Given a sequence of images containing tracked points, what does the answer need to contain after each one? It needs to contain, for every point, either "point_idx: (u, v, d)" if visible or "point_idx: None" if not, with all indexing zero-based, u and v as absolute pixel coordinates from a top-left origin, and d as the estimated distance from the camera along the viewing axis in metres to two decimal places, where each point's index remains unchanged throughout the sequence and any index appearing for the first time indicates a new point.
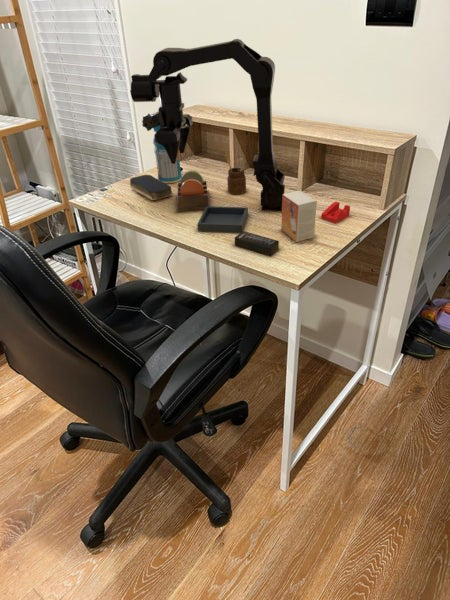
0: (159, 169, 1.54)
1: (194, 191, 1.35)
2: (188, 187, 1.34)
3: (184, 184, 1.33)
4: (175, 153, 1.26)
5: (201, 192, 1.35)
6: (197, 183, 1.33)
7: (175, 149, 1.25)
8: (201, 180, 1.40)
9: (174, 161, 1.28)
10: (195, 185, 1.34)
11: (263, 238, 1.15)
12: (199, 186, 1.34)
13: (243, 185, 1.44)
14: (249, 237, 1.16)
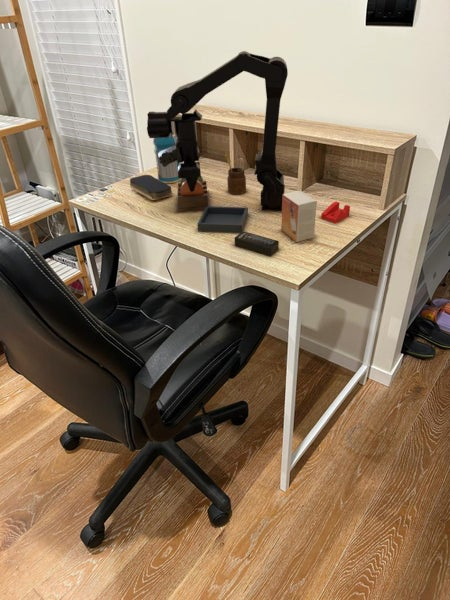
0: (159, 169, 1.54)
1: (194, 191, 1.35)
2: (188, 187, 1.34)
3: (184, 184, 1.33)
4: (195, 181, 1.32)
5: (201, 192, 1.35)
6: (197, 183, 1.33)
7: (195, 178, 1.31)
8: (201, 180, 1.40)
9: (193, 189, 1.34)
10: None
11: (263, 238, 1.15)
12: (199, 186, 1.34)
13: (243, 185, 1.44)
14: (249, 237, 1.16)
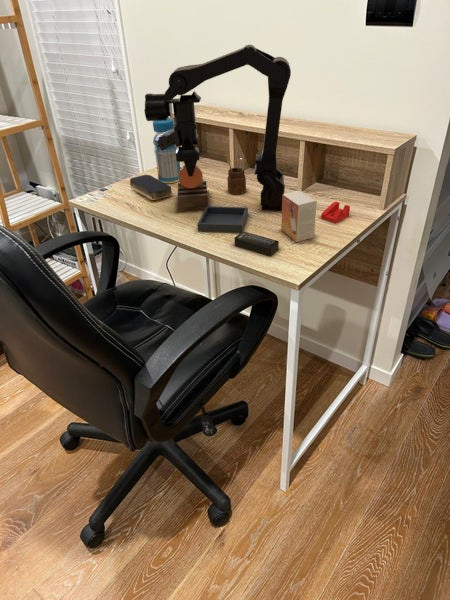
0: (159, 169, 1.54)
1: (193, 176, 1.32)
2: None
3: (182, 169, 1.30)
4: (193, 166, 1.29)
5: (200, 177, 1.32)
6: (196, 168, 1.31)
7: (194, 162, 1.28)
8: None
9: (191, 174, 1.31)
10: None
11: (263, 238, 1.15)
12: (198, 171, 1.31)
13: (243, 185, 1.44)
14: (249, 237, 1.16)
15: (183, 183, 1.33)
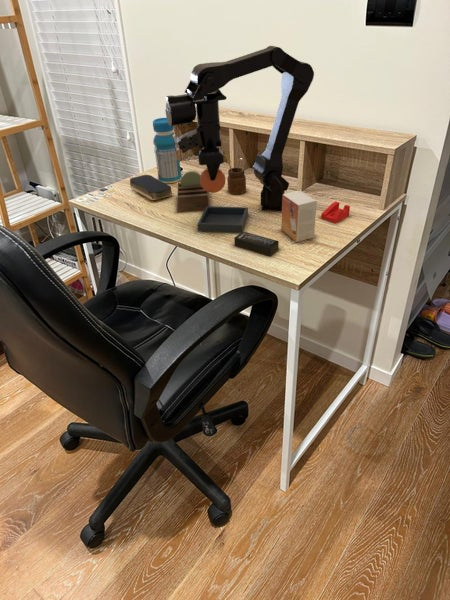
0: (159, 169, 1.54)
1: (215, 180, 1.24)
2: (209, 176, 1.23)
3: (204, 172, 1.23)
4: (216, 169, 1.21)
5: (223, 181, 1.24)
6: (218, 171, 1.23)
7: (217, 165, 1.20)
8: None
9: (214, 177, 1.23)
10: None
11: (263, 238, 1.15)
12: (221, 175, 1.23)
13: (243, 185, 1.44)
14: (249, 237, 1.16)
15: (205, 187, 1.25)
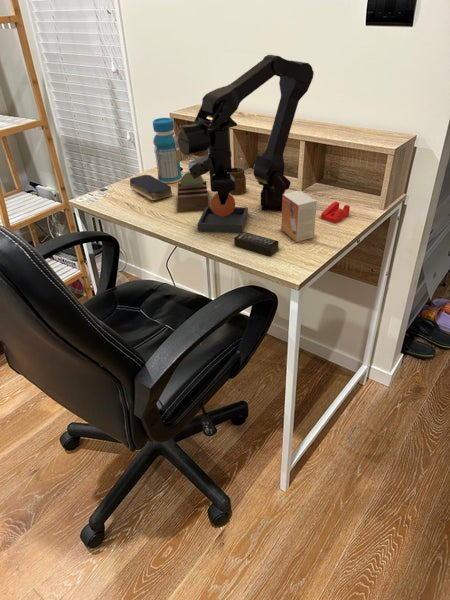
0: (159, 169, 1.54)
1: (225, 204, 1.25)
2: (219, 200, 1.24)
3: (215, 197, 1.23)
4: (227, 194, 1.22)
5: (232, 205, 1.25)
6: (229, 196, 1.24)
7: (228, 190, 1.21)
8: (201, 180, 1.40)
9: (224, 202, 1.24)
10: None
11: (263, 238, 1.15)
12: (231, 199, 1.24)
13: (243, 185, 1.44)
14: (249, 237, 1.16)
15: (215, 211, 1.26)
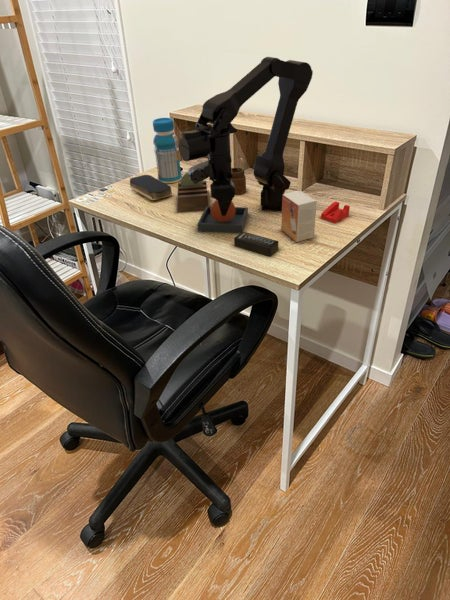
0: (159, 169, 1.54)
1: None
2: (219, 207, 1.25)
3: (215, 203, 1.25)
4: (228, 205, 1.20)
5: (233, 211, 1.26)
6: None
7: (229, 201, 1.19)
8: None
9: (225, 213, 1.22)
10: None
11: (263, 238, 1.15)
12: (231, 205, 1.25)
13: (243, 185, 1.44)
14: (249, 237, 1.16)
15: (215, 217, 1.27)
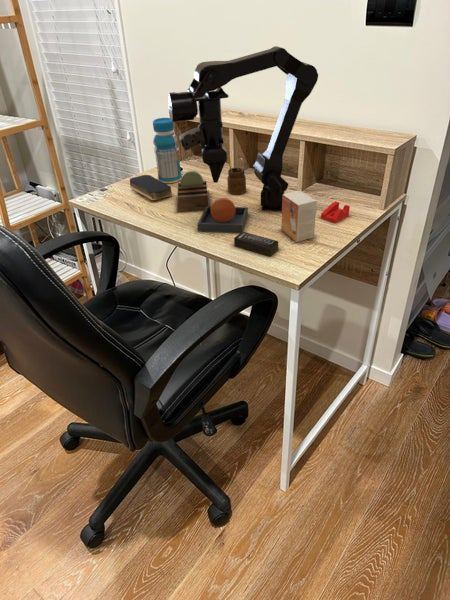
0: (159, 169, 1.54)
1: (225, 210, 1.26)
2: (219, 207, 1.25)
3: (215, 203, 1.25)
4: (219, 171, 1.19)
5: (233, 211, 1.26)
6: (229, 202, 1.25)
7: (220, 167, 1.18)
8: (201, 180, 1.40)
9: (217, 180, 1.21)
10: (226, 204, 1.25)
11: (263, 238, 1.15)
12: (231, 205, 1.25)
13: (243, 185, 1.44)
14: (248, 237, 1.16)
15: (215, 217, 1.27)
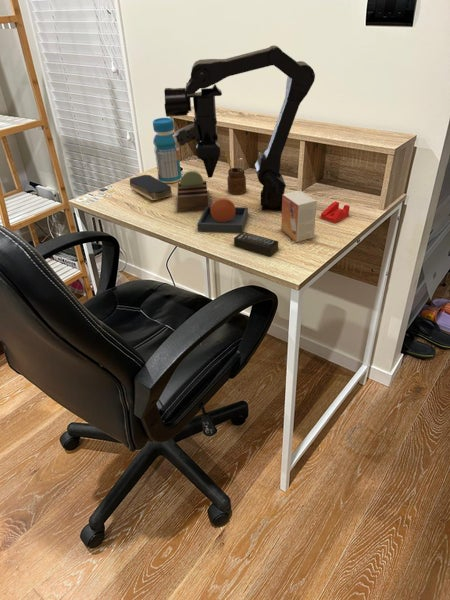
0: (159, 169, 1.54)
1: (225, 210, 1.26)
2: (219, 207, 1.25)
3: (215, 203, 1.25)
4: (213, 166, 1.22)
5: (233, 211, 1.26)
6: (229, 202, 1.25)
7: (214, 162, 1.21)
8: (201, 180, 1.40)
9: (211, 175, 1.24)
10: (226, 204, 1.25)
11: (262, 238, 1.15)
12: (231, 205, 1.25)
13: (243, 185, 1.44)
14: (248, 237, 1.16)
15: (215, 217, 1.27)
